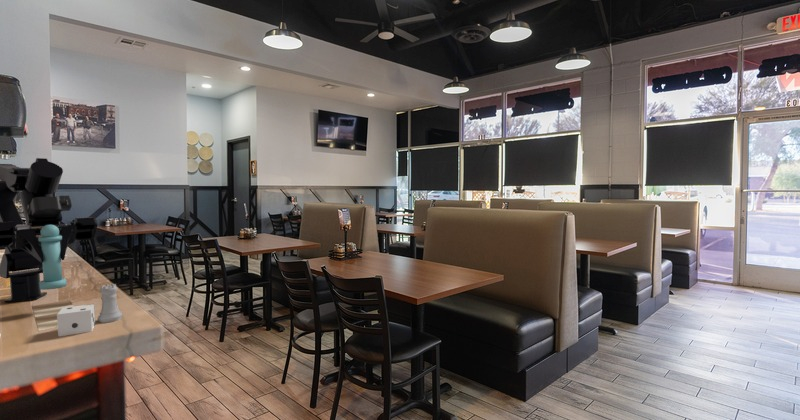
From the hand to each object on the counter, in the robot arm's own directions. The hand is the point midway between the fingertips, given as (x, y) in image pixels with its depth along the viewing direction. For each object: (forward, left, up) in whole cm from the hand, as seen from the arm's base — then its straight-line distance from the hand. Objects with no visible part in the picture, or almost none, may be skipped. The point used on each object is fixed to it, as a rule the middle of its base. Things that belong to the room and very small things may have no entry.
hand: (53, 260), depth 91 cm
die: (+16, +9, -12) cm, 22 cm away
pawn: (-1, -1, -6) cm, 6 cm away
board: (+2, +1, -12) cm, 12 cm away
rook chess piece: (+11, +13, -13) cm, 22 cm away
